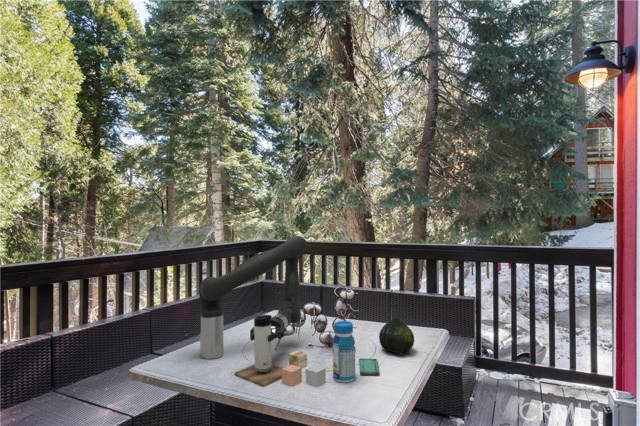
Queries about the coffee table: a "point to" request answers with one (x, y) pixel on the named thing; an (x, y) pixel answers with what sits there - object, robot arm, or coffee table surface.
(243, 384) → the coffee table surface
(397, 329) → the squash
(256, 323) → the travel mug
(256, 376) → the walnut board
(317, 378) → the grey block
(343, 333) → the beverage bottle
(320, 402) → the coffee table surface
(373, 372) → the smartphone
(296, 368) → the terracotta block
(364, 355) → the coffee table surface
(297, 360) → the birch block
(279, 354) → the coffee table surface
